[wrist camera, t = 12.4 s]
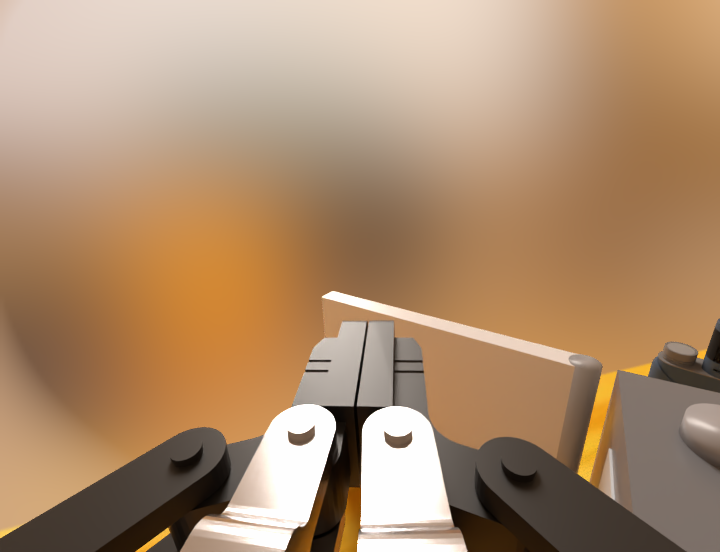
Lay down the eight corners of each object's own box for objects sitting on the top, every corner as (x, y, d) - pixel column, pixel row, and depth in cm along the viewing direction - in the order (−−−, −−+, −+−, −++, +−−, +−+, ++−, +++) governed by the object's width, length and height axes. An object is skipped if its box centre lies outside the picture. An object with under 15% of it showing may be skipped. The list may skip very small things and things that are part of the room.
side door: (555, 567, 22) (601, 374, 17) (333, 445, 31) (320, 297, 26) (561, 538, 23) (604, 353, 18) (347, 430, 32) (338, 287, 27)
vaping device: (714, 465, 28) (772, 326, 24) (631, 431, 32) (668, 303, 27) (716, 445, 30) (770, 312, 25) (637, 414, 33) (673, 292, 29)
